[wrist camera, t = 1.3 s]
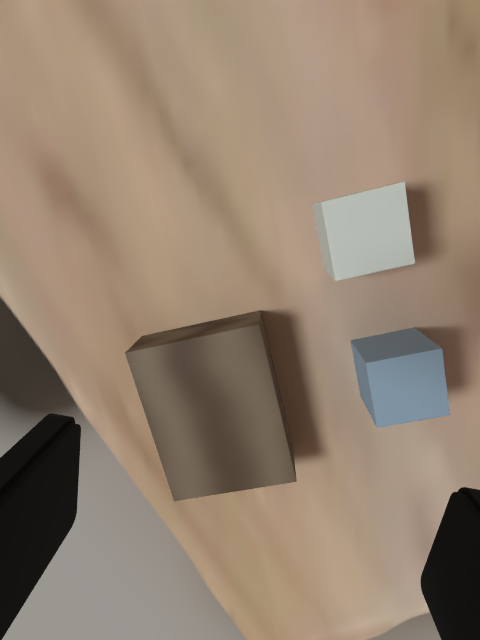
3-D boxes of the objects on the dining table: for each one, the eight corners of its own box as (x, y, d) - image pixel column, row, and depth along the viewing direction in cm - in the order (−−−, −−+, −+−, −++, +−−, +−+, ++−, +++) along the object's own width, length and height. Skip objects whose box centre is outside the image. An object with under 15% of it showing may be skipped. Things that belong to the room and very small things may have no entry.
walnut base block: (260, 310, 31) (259, 324, 27) (293, 451, 34) (296, 481, 30) (142, 336, 32) (125, 353, 28) (184, 469, 35) (174, 501, 31)
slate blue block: (414, 327, 31) (442, 348, 26) (422, 384, 32) (450, 415, 27) (350, 340, 31) (365, 363, 26) (360, 395, 32) (376, 427, 28)
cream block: (381, 187, 28) (404, 181, 23) (390, 255, 29) (414, 263, 24) (312, 204, 29) (321, 202, 24) (324, 270, 30) (335, 281, 25)
